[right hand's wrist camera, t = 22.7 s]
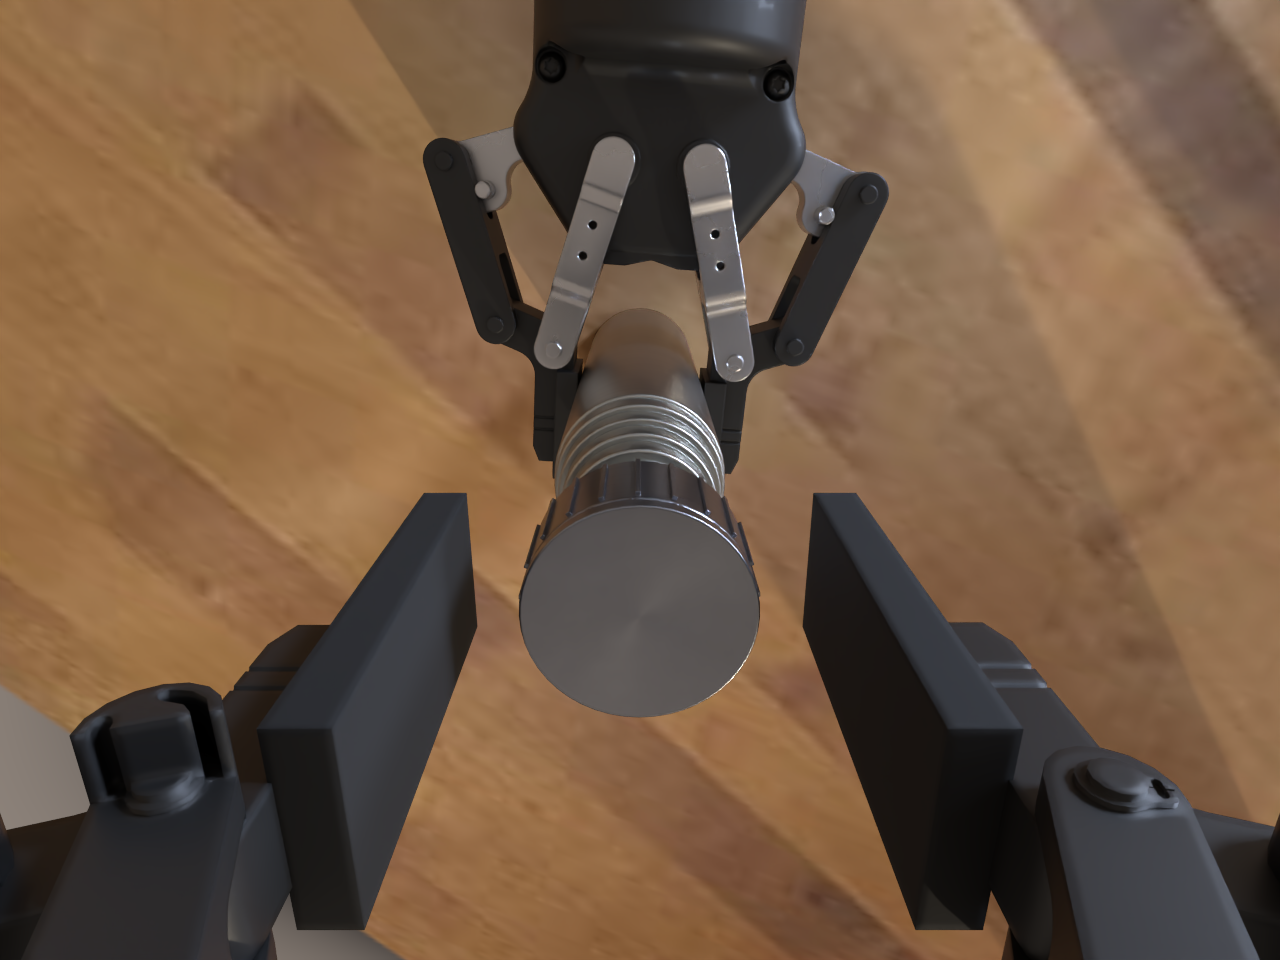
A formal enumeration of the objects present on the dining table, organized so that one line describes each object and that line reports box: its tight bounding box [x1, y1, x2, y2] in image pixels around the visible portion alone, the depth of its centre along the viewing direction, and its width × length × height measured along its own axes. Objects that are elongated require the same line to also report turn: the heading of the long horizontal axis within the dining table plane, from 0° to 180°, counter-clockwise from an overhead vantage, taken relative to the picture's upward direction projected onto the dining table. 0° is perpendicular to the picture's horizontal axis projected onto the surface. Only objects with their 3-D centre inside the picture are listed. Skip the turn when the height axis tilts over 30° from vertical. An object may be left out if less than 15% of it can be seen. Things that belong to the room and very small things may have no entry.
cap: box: [519, 459, 760, 717], centre depth 14 cm, size 4×4×2 cm
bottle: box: [555, 309, 725, 498], centre depth 22 cm, size 4×4×20 cm
